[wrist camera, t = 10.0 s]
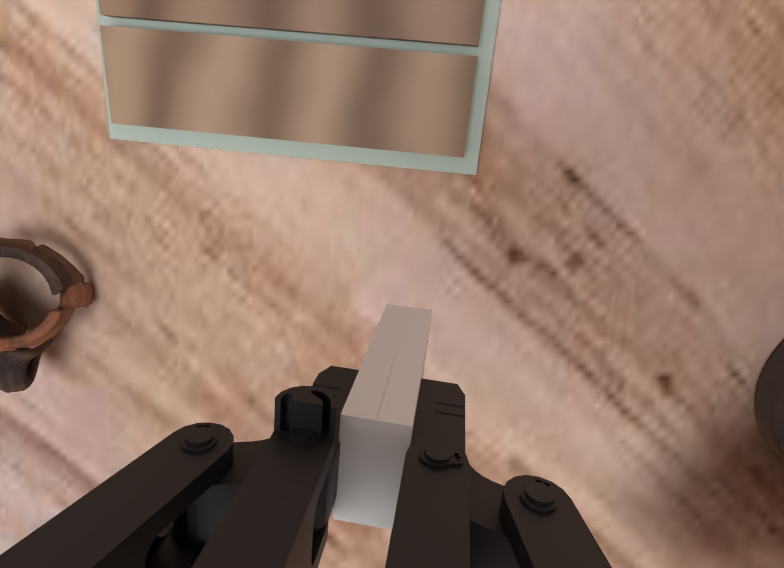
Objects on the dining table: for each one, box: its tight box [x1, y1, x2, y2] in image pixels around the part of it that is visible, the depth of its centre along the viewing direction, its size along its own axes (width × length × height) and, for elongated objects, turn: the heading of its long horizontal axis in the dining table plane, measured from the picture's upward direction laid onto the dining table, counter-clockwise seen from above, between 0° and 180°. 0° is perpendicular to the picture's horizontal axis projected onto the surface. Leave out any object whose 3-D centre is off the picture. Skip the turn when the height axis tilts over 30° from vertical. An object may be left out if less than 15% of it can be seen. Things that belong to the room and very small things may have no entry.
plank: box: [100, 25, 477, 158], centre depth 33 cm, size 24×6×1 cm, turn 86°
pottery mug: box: [0, 238, 93, 393], centre depth 39 cm, size 12×10×8 cm
